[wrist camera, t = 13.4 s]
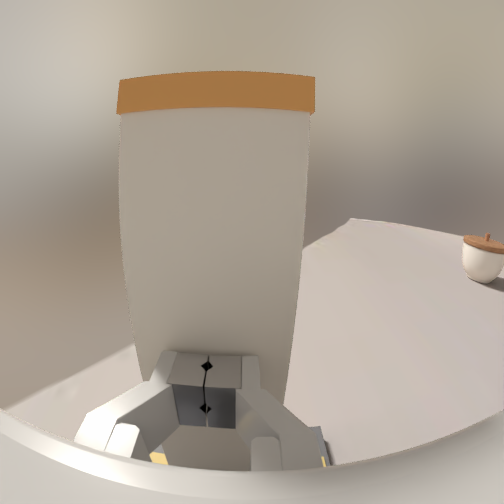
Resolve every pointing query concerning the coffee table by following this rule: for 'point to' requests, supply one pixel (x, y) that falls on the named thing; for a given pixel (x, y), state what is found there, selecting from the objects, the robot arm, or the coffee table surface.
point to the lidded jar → (482, 258)
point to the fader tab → (214, 227)
